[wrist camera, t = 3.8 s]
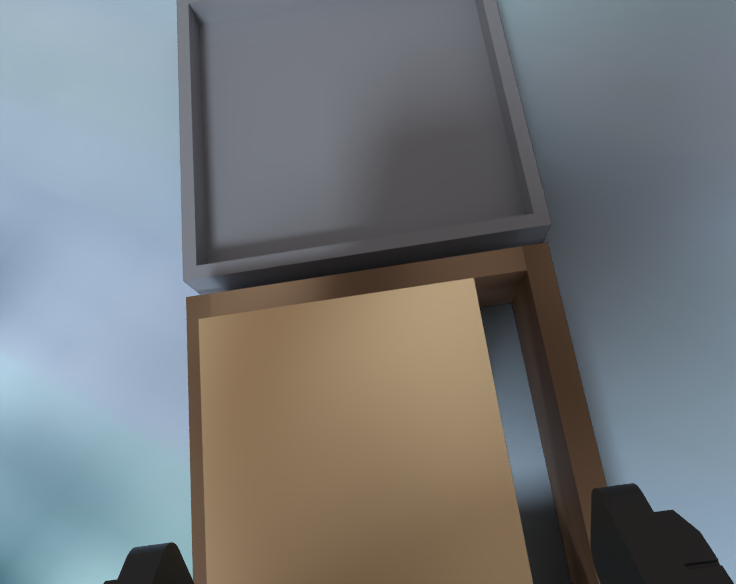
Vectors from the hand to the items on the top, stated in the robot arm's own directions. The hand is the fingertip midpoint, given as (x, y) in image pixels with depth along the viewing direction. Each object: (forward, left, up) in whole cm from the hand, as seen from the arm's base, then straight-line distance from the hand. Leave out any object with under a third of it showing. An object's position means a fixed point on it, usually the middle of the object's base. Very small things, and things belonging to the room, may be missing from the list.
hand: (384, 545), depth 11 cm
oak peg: (0, -2, -9) cm, 9 cm away
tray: (0, -15, -8) cm, 17 cm away
